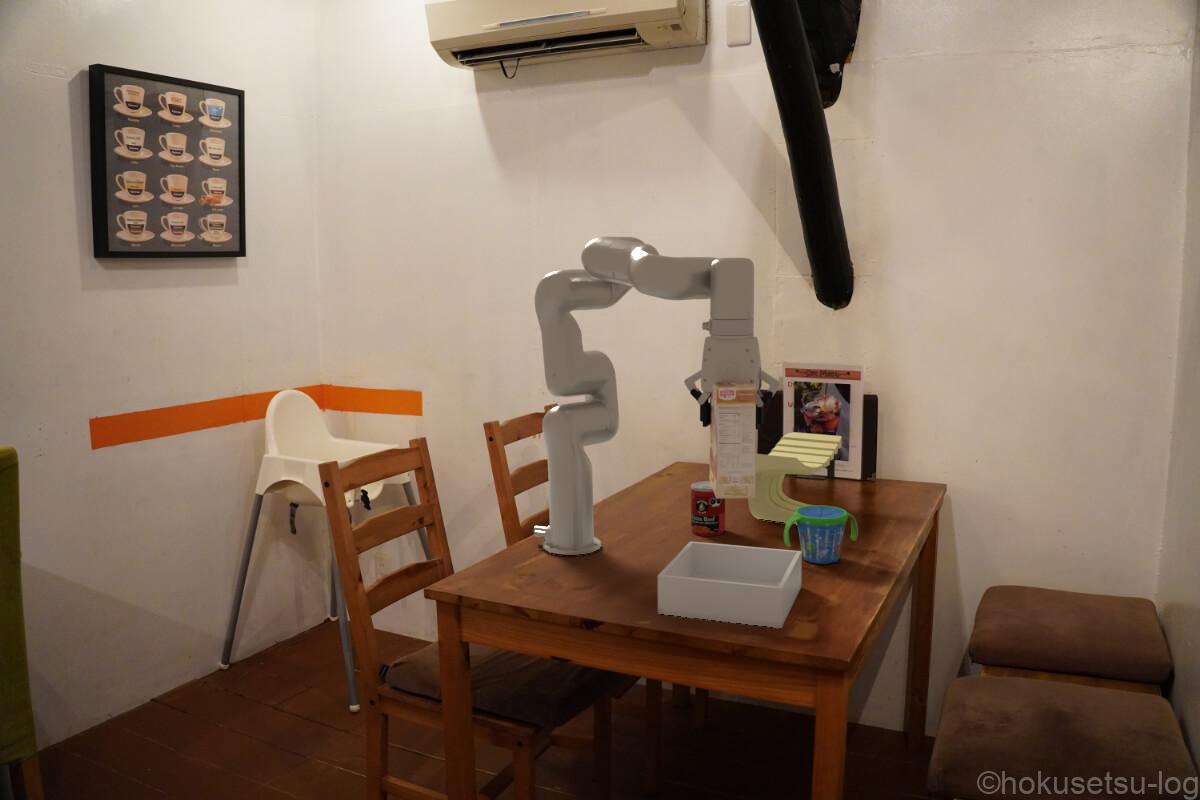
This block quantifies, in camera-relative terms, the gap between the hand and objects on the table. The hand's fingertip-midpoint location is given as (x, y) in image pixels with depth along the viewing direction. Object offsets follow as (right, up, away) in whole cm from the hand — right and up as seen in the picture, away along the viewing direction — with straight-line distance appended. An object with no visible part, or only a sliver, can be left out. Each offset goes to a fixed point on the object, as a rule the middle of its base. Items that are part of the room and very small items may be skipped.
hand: (731, 426), depth 167 cm
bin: (+1, -32, +4) cm, 32 cm away
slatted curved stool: (+22, -24, +61) cm, 69 cm away
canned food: (+1, -26, +49) cm, 55 cm away
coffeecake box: (0, -11, +2) cm, 11 cm away
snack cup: (+22, -28, +27) cm, 45 cm away
